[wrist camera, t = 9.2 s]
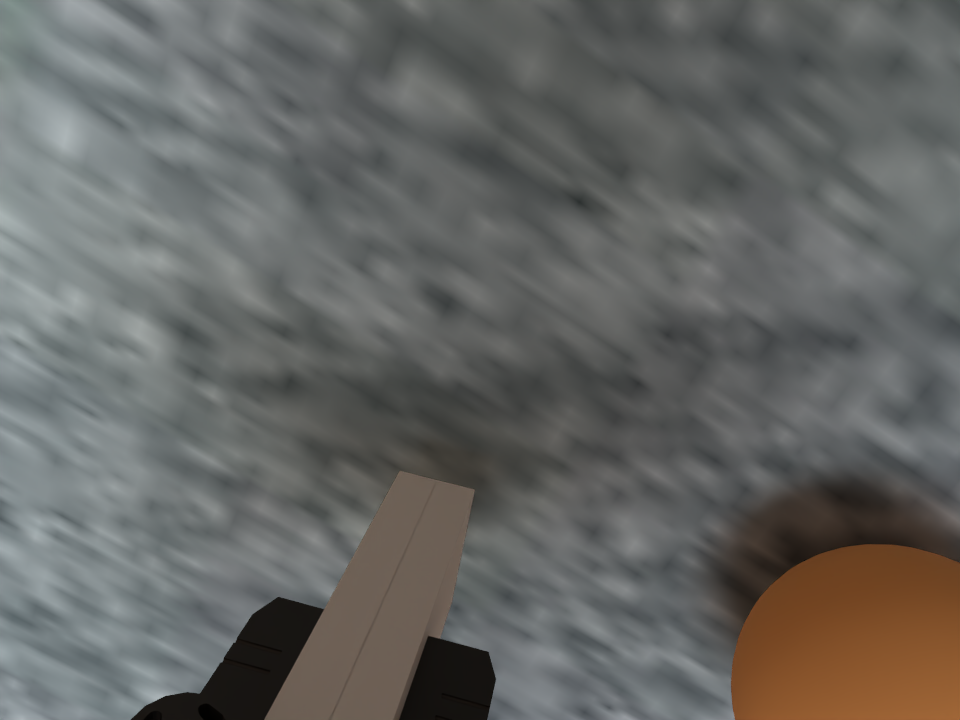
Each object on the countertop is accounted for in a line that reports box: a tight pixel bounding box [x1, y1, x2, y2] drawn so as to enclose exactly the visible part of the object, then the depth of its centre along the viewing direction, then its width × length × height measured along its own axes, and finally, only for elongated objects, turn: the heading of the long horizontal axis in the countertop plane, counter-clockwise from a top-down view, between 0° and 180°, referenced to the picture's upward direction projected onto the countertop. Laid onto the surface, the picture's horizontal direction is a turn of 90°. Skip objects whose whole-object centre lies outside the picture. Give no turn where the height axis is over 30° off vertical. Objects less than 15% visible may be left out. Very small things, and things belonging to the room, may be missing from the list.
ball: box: [731, 544, 960, 720], centre depth 15 cm, size 6×6×6 cm
